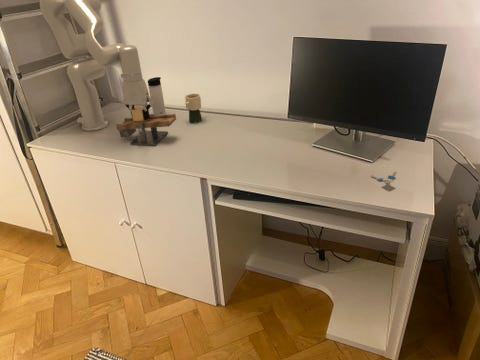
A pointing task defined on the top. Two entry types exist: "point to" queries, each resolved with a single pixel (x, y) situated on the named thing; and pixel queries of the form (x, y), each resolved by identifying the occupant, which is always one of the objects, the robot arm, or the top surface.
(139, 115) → the tan block
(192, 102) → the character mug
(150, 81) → the travel mug
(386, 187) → the key chain
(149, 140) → the stand
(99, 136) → the top surface
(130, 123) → the beam
